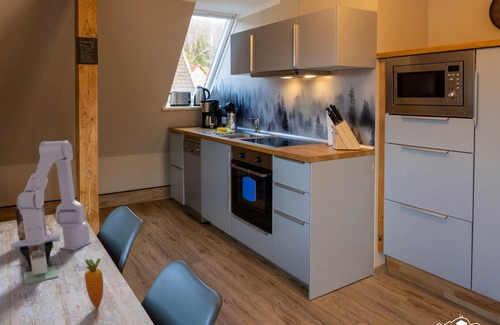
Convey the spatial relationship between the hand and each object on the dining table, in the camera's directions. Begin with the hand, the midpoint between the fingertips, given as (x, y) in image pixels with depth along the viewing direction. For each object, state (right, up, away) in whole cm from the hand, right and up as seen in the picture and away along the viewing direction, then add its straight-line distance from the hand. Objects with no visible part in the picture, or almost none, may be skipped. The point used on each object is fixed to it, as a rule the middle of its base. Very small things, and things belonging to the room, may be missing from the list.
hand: (39, 265), depth 140 cm
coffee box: (-19, +1, +33) cm, 38 cm away
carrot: (+28, -7, -22) cm, 36 cm away
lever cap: (0, -2, +1) cm, 2 cm away
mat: (0, -4, +1) cm, 4 cm away
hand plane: (-8, -2, +14) cm, 16 cm away
